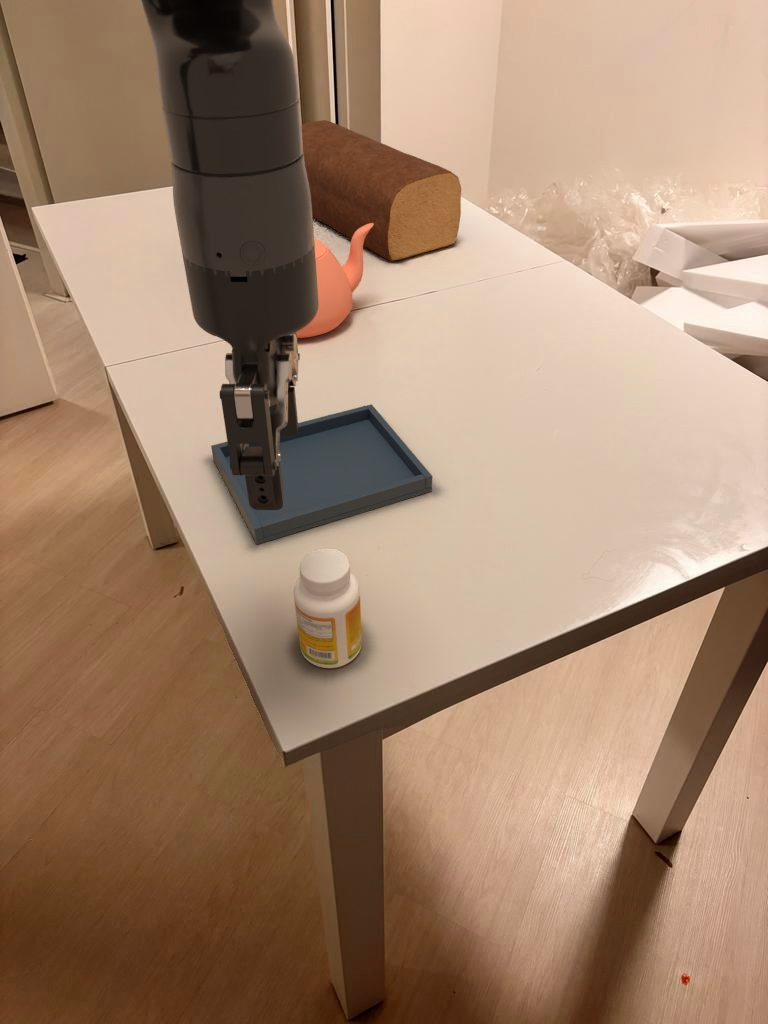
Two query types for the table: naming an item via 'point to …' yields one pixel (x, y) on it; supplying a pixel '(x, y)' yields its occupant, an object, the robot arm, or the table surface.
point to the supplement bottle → (328, 609)
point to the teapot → (335, 284)
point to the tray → (331, 473)
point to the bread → (379, 192)
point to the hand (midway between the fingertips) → (275, 467)
